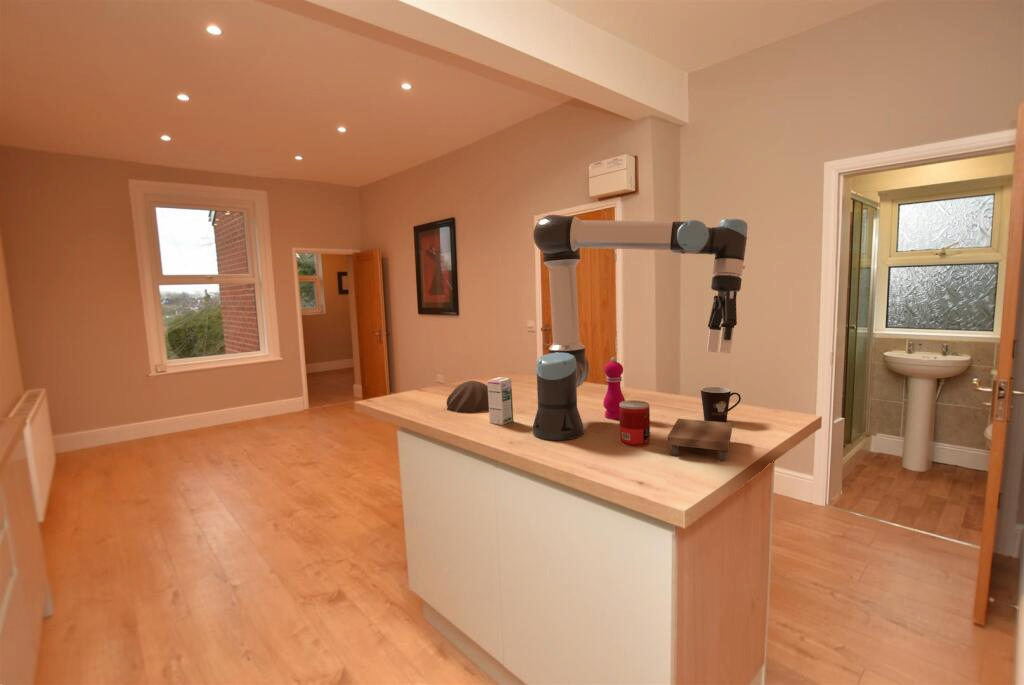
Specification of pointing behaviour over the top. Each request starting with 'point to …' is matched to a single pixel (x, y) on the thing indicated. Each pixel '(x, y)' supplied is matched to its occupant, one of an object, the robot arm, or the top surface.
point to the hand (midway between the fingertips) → (717, 352)
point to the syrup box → (500, 400)
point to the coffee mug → (716, 403)
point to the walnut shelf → (700, 436)
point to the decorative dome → (469, 398)
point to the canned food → (634, 423)
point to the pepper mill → (613, 389)
